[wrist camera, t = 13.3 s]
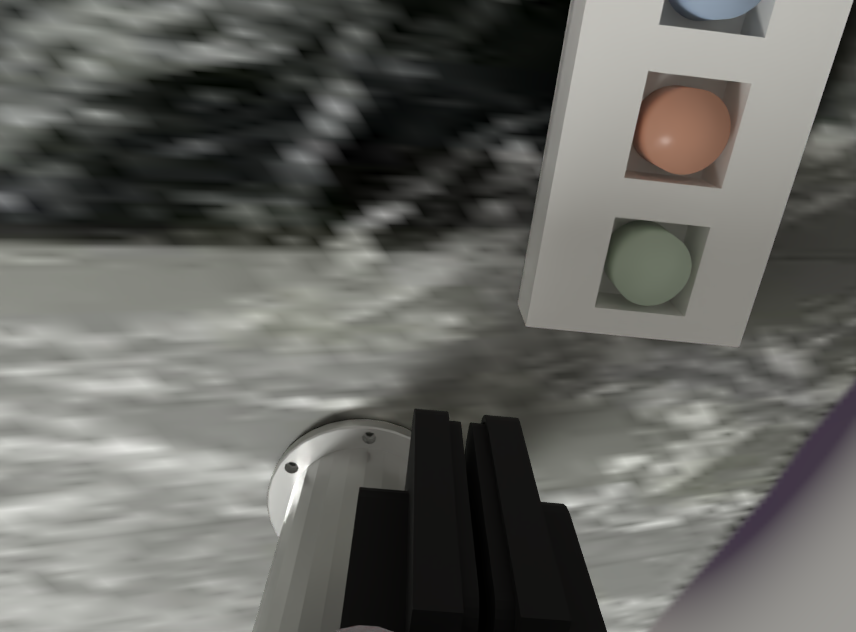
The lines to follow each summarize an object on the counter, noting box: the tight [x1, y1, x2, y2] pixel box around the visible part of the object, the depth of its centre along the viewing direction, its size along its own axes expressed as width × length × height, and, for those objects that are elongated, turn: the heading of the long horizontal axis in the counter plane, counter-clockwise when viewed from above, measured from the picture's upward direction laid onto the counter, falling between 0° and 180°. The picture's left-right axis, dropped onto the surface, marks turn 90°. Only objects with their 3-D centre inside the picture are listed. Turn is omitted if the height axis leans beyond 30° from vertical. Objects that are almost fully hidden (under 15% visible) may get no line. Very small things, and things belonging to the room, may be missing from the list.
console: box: [517, 0, 853, 347], centre depth 33 cm, size 22×12×3 cm, turn 174°
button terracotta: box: [632, 85, 731, 175], centre depth 32 cm, size 4×4×3 cm
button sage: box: [603, 220, 692, 306], centre depth 35 cm, size 4×4×3 cm
